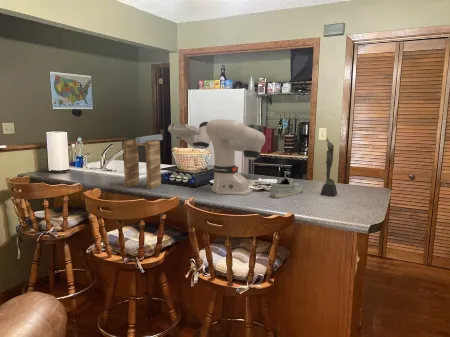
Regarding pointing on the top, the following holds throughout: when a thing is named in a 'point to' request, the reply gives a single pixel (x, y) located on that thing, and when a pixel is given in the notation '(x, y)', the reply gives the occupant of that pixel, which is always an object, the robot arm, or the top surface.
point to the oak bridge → (133, 163)
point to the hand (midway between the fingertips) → (178, 124)
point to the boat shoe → (285, 188)
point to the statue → (329, 186)
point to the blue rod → (149, 138)
